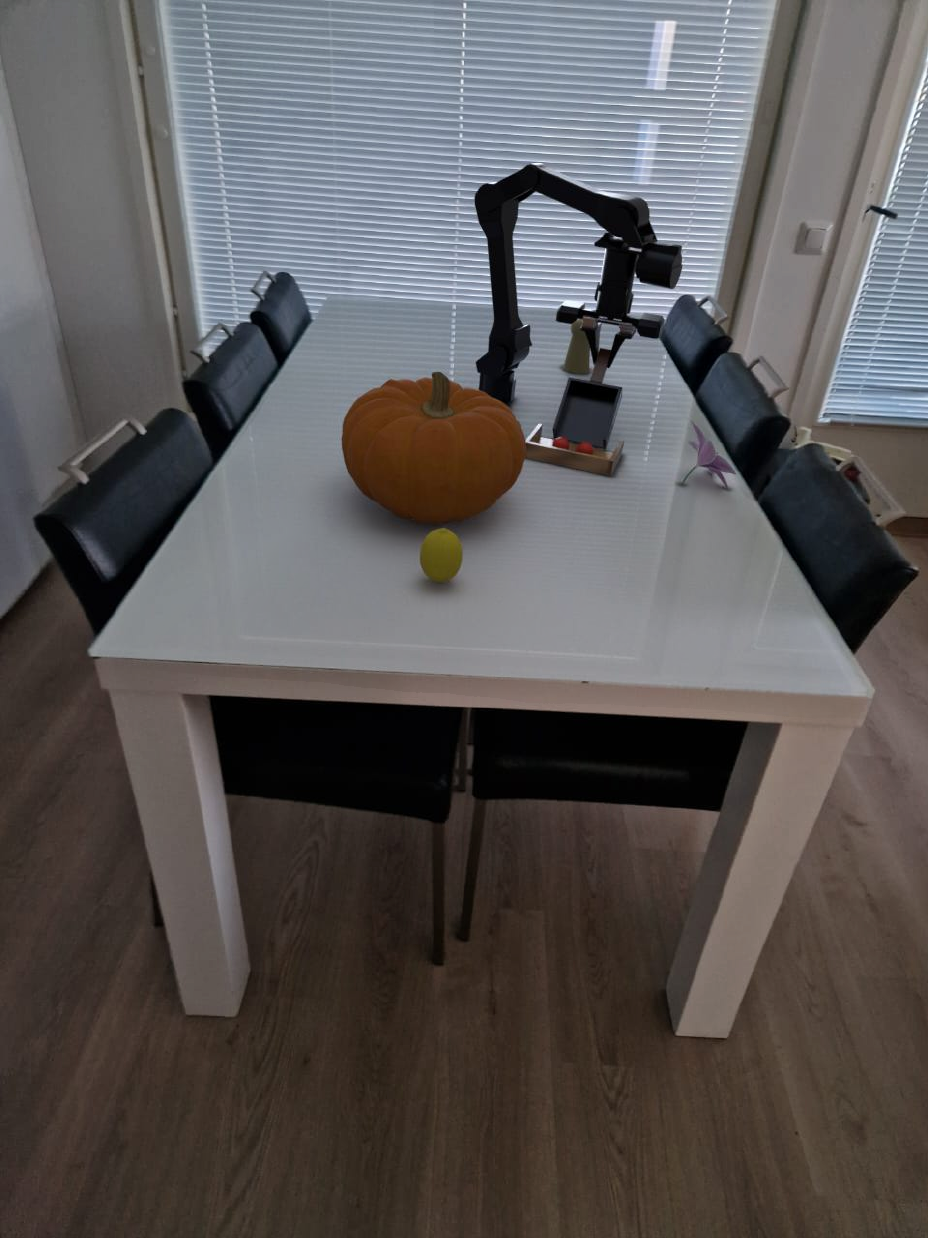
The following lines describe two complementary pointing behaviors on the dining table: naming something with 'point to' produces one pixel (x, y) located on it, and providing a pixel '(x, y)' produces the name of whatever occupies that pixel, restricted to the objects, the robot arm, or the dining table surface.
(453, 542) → the lemon
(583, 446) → the tomato
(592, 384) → the pan
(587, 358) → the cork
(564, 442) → the tomato
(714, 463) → the lily
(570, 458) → the tray
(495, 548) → the dining table surface
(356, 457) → the pumpkin
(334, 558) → the dining table surface
